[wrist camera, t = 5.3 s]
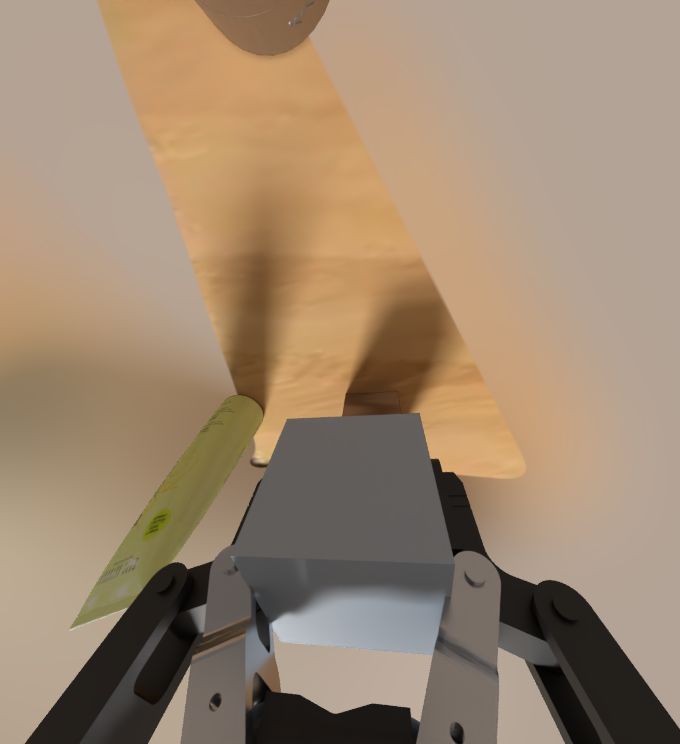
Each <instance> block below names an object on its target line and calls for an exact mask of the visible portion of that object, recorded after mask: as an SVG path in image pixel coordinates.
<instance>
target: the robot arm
mask: <svg viewBox="0 0 680 744" xmlns="http://www.w3.org/2000/svg"><path fill="white" fill-rule="evenodd" d="M195 1H196V2H197V4H198V5H199V6H200V7H201V9H202V10H203V11H204V12H205V14H206V15H207V16H208V17H209V18H210V20H211V21H212V22H213V23H214V25H215V26H216V27H217V28H218V29H219V30H220V31H221V32H222V33H223V34H224V35H225V36H226V37H227V38H228V39H229V41H231V42H232V43H234V44H235V45H237V46H238V47H240V48H241V49H243V50H245V51H248V52H251V53H254V54H257V55H270V56H273V55H277V54H281V53H284V52H288V51H289V50H291V49H292V48H294V47H296V46H297V45H299V44H300V43H302V42H303V41H304V40H305V39H306V37H307V36H308V35H309V34H310V33H311V32H312V31H313V30H314V29H315V27H316V25H317V24H318V22H319V21H320V19H321V17H322V16H323V14H324V12H325V10H326V7H327V5H328V3H329V0H195ZM430 460H431V464H432V468H433V473H434V477H435V481H436V485H437V490H438V494H439V498H440V502H441V507H442V511H443V515H444V519H445V524H446V528H447V532H448V536H449V541H450V545H451V549H452V553H453V558H454V562H455V569H454V578H453V586H452V595H451V597H447V596H445V599H444V604H443V609H442V615H441V620H440V625H439V631H438V635H437V639H436V643H435V647H434V652H433V658H432V663H431V668H430V674H429V679H428V684H427V689H426V695H425V700H424V705H423V710H422V716H421V721H420V722H419V721H417V720H415V719H413V718H412V717H411V713H410V708H406V707H397V706H389V705H381V704H369V705H366V706H362V707H359V708H356V709H352V710H349V711H345V712H342V713H338V714H333V713H330V712H329V711H327V710H325V709H324V708H322V707H320V706H318V705H317V704H315V703H313V702H311V701H310V700H308V699H306V698H304V697H302V696H301V695H296V694H288V693H281V689H280V679H279V673H278V668H277V664H276V660H275V654H274V641H273V626H272V621H271V620H270V618H269V616H265V614H264V612H263V611H262V609H261V607H260V606H259V604H258V602H257V600H256V598H255V592H254V590H253V588H252V587H251V586H248V585H247V584H246V582H245V580H244V579H243V577H242V575H241V573H240V572H239V570H238V568H237V567H236V565H235V563H234V562H233V560H232V558H231V557H230V555H231V553H232V550H233V548H234V545H235V543H236V541H237V538H238V536H239V533H240V531H241V529H242V526H243V524H244V521H245V519H246V517H247V514H248V512H249V509H250V507H251V505H252V502H253V500H254V497H255V495H256V493H257V490H258V488H259V485H260V483H261V481H262V479H261V480H260V481H259V482H258V484H257V486H256V489H255V491H254V493H253V497H252V498H251V500H250V503H249V506H248V507H247V509H246V512H245V514H244V517H243V519H242V521H241V523H240V526H239V528H238V530H237V533H236V535H235V538H234V540H233V542H232V544H231V545H230V546H228V547H227V548H225V549H224V550H222V551H221V552H220V553H219V554H218V556H217V557H216V558H215V560H214V561H212V562H209V563H206V564H203V565H200V566H197V567H194V568H191V569H187V568H186V567H185V565H184V564H182V563H178V562H177V563H171V564H168V565H166V566H165V567H163V568H161V569H160V570H159V571H158V572H157V573H156V574H155V575H154V576H153V577H152V578H151V579H150V580H149V582H148V583H147V584H146V586H145V587H144V588H143V590H142V591H141V592H140V594H139V595H138V596H137V597H136V599H135V600H134V601H133V603H132V604H131V605H130V607H129V608H128V609H127V611H126V612H125V613H124V614H123V616H122V617H121V618H120V620H119V621H118V622H117V624H116V625H115V626H114V628H113V629H112V630H111V632H110V633H109V634H108V635H107V637H106V638H105V639H104V641H103V642H102V643H101V645H100V646H99V647H98V648H97V650H96V651H95V652H94V654H93V655H92V656H91V658H90V659H89V660H88V662H87V663H86V664H85V665H84V667H83V668H82V669H81V671H80V672H79V673H78V675H77V676H76V678H75V679H74V680H73V681H72V683H71V684H70V685H69V687H68V688H67V689H66V690H65V692H64V693H63V694H62V696H61V697H60V698H59V700H58V701H57V702H56V704H55V705H54V706H53V707H52V709H51V710H50V711H49V713H48V714H47V715H46V717H45V718H44V719H43V720H42V722H41V723H40V724H39V726H38V727H37V728H36V730H35V731H34V732H33V734H32V735H31V736H30V737H29V739H28V740H27V742H26V743H25V744H148V742H149V740H150V739H151V737H152V735H153V733H154V731H155V729H156V727H157V725H158V724H159V722H160V720H161V718H162V716H163V714H164V712H165V710H166V709H167V707H168V705H169V703H170V701H171V699H172V698H173V696H174V694H175V692H176V690H177V688H178V686H179V684H180V683H181V681H182V679H183V677H184V675H185V673H186V671H187V670H188V668H189V666H190V664H191V667H190V675H189V682H188V690H187V698H186V706H185V714H184V721H183V729H182V737H181V744H497V724H498V723H497V722H498V700H499V676H498V671H497V655H498V647H500V648H502V649H504V650H506V651H508V652H510V653H512V654H514V655H516V656H518V657H521V658H523V659H525V661H526V663H527V666H528V668H529V670H530V672H531V674H532V676H533V678H534V680H535V682H536V684H537V686H538V688H539V690H540V692H541V694H542V697H543V698H544V700H545V703H546V705H547V707H548V709H549V711H550V713H551V715H552V717H553V719H554V721H555V723H556V725H557V728H558V729H559V731H560V734H561V736H562V738H563V740H564V742H565V744H680V729H679V728H678V726H677V725H676V723H675V722H674V721H673V719H672V718H671V716H670V715H669V714H668V712H667V711H666V710H665V708H664V707H663V706H662V704H661V703H660V701H659V700H658V699H657V697H656V696H655V695H654V693H653V692H652V690H651V689H650V688H649V686H648V685H647V683H646V682H645V681H644V679H643V678H642V676H641V675H640V674H639V672H638V671H637V670H636V668H635V667H634V665H633V664H632V663H631V661H630V660H629V659H628V657H627V656H626V654H625V653H624V652H623V650H622V649H621V648H620V646H619V645H618V643H617V642H616V641H615V639H614V638H613V636H612V635H611V634H610V632H609V631H608V630H607V628H606V627H605V625H604V624H603V623H602V621H601V620H600V619H599V617H598V616H597V614H596V613H595V612H594V610H593V609H592V607H591V606H590V605H589V603H588V602H587V601H586V600H585V599H584V598H583V597H582V596H581V595H580V594H579V593H578V592H577V591H575V590H574V589H572V588H571V587H569V586H567V585H566V584H563V583H560V582H558V581H552V580H546V581H542V582H541V583H539V584H538V585H535V584H532V583H530V582H527V581H524V580H522V579H519V578H516V577H514V576H511V575H509V574H507V573H505V572H504V571H502V570H501V569H500V568H499V567H497V566H496V565H495V564H494V563H493V562H492V561H491V559H490V558H489V556H488V555H487V553H486V551H485V548H484V546H483V543H482V540H481V537H480V534H479V531H478V528H477V525H476V522H475V519H474V516H473V513H472V510H471V508H470V504H469V501H468V498H467V495H466V492H465V489H464V486H463V483H462V482H461V480H460V479H459V478H458V477H457V476H456V474H455V473H454V472H442V468H441V465H440V461H439V459H430Z"/></svg>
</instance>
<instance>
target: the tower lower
mask: <svg viewBox="0 0 680 744" xmlns="http://www.w3.org/2000/svg"><path fill="white" fill-rule="evenodd" d="M389 414H401V409H400V402H399V395H398V391H394V392H376V393H357V394H346V396H345V402H344V408H343V415H342V417H343V416H366V415H389Z"/></svg>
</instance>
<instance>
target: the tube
mask: <svg viewBox="0 0 680 744" xmlns="http://www.w3.org/2000/svg"><path fill="white" fill-rule="evenodd" d="M262 421H263V411H262V409H261V407H260V406H259V404H258V403H257V402H256V401H254V400H253V399H251V398H249V397H247V396H243V395H234V396H231V397H229V398H227V399H226V400H225V401H224V402H223V403H222V405H221V406H220V407H219V408H218V410H217V411H216V412H215V414H214V415H213V416H212V417H211V418H210V420H209V421H208V423H207V424H206V425H205V426H204V428H203V429H202V430H201V432H200V433H199V434H198V435H197V437H196V438H195V439H194V441H193V442H192V443H191V445H190V446H189V447H188V449H187V450H186V451H185V453H184V454H183V456H182V457H181V458H180V460H179V461H178V462H177V464H176V465H175V466H174V468H173V469H172V471H171V472H170V474H169V475H168V476H167V478H166V479H165V480H164V482H163V483H162V485H161V486H160V487H159V489H158V490H157V492H156V493H155V495H154V496H153V498H152V499H151V500H150V502H149V503H148V505H147V506H146V508H145V509H144V511H143V512H142V514H141V515H140V517H139V518H138V520H137V522H136V523H135V524H134V526H133V527H132V529H131V530H130V532H129V533H128V535H127V536H126V538H125V539H124V541H123V542H122V544H121V545H120V547H119V548H118V550H117V551H116V553H115V555H114V556H113V557H112V559H111V561H110V562H109V564H108V565H107V567H106V568H105V570H104V572H103V573H102V575H101V576H100V578H99V580H98V581H97V583H96V585H95V586H94V588H93V590H92V592H91V593H90V595H89V597H88V598H87V600H86V602H85V604H84V606H83V607H82V609H81V611H80V613H79V615H78V617H77V618H76V620H75V621H74V623H73V624H72V626H71V627H70V629H69V631H70V630H73V629H75V628H77V627H79V626H82V625H85V624H87V623H90V622H92V621H95V620H98V619H101V618H104V617H106V616H109V615H111V614H114V613H117V612H120V611H123V610H126V609H128V608H129V607H130V605H131V604H132V603H133V601H134V600H135V599H136V597H137V596H138V595H139V594H140V592H141V591H142V590H143V588H144V587H145V586H146V584H147V583H148V582H149V580H150V579H151V578H152V577H153V576H154V575H155V574H156V573H157V572H158V571H159V570H160V569H161V568H163V567H165V566H166V565H168V564H171V563H172V562H173V560H174V559H175V557H176V556H177V555H178V553H179V552H180V550H181V549H182V547H183V546H184V544H185V543H186V541H187V540H188V538H189V537H190V535H191V534H192V532H193V531H194V530H195V528H196V527H197V525H198V524H199V522H200V521H201V519H202V518H203V516H204V515H205V513H206V511H207V510H208V509H209V507H210V505H211V504H212V502H213V501H214V499H215V498H216V496H217V495H218V493H219V492H220V490H221V489H222V487H223V486H224V484H225V482H226V481H227V479H228V478H229V476H230V475H231V473H232V471H233V470H234V468H235V466H236V465H237V463H238V462H239V460H240V458H241V457H242V455H243V453H244V452H245V450H246V449H247V447H248V445H249V443H250V442H251V440H252V439H253V437H254V435H255V434H256V432H257V430H258V428H259V427H260V425H261V423H262Z"/></svg>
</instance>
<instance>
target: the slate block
mask: <svg viewBox="0 0 680 744" xmlns="http://www.w3.org/2000/svg"><path fill="white" fill-rule="evenodd" d="M230 557H231V558H232V560H233V562H234V563H235V565H236V567H237V568H238V570H239V572H240V573H241V575H242V577H243V579H244V580H245V582H246V584H247V585H248V586H251V587H252V588H253V590H254V592H255V598H256V600H257V602H258V604H259V606H260V607H261V609H262V611H263V612H264V614H265V616H269V618H270V620H271V621H272V626H273V629H274V631H275V633H276V634H277V636H278V638H279V639H280V641H281V642H288V643H299V644H311V645H323V646H334V647H346V648H357V649H370V650H380V651H392V652H404V653H414V654H426V655H433V652H434V647H435V643H436V639H437V635H438V631H439V625H440V620H441V615H442V609H443V604H444V599H445V596H447V597H451V595H452V586H453V578H454V569H455V562H454V558H453V553H452V549H451V545H450V541H449V536H448V532H447V528H446V524H445V519H444V515H443V511H442V507H441V502H440V498H439V494H438V490H437V485H436V481H435V477H434V473H433V468H432V464H431V460H430V456H429V451H428V447H427V443H426V439H425V434H424V430H423V426H422V421H421V417H420V413H411V414H389V415H366V416H343V417H321V418H298V419H287V421H286V423H285V425H284V428H283V430H282V433H281V435H280V437H279V440H278V442H277V445H276V447H275V449H274V452H273V454H272V457H271V459H270V461H269V464H268V466H267V469H266V471H265V474H264V476H263V478H262V481H261V483H260V485H259V488H258V490H257V493H256V495H255V497H254V500H253V502H252V505H251V507H250V509H249V512H248V514H247V517H246V519H245V521H244V524H243V526H242V529H241V531H240V533H239V536H238V538H237V541H236V543H235V545H234V548H233V550H232V553H231V555H230Z"/></svg>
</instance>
